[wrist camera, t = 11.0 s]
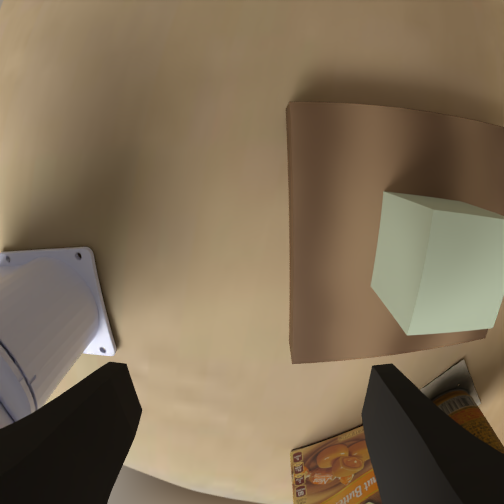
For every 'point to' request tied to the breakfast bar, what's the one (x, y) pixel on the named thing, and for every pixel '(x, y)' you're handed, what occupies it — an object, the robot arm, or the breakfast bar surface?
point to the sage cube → (439, 264)
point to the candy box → (334, 472)
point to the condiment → (462, 403)
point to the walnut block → (370, 215)
